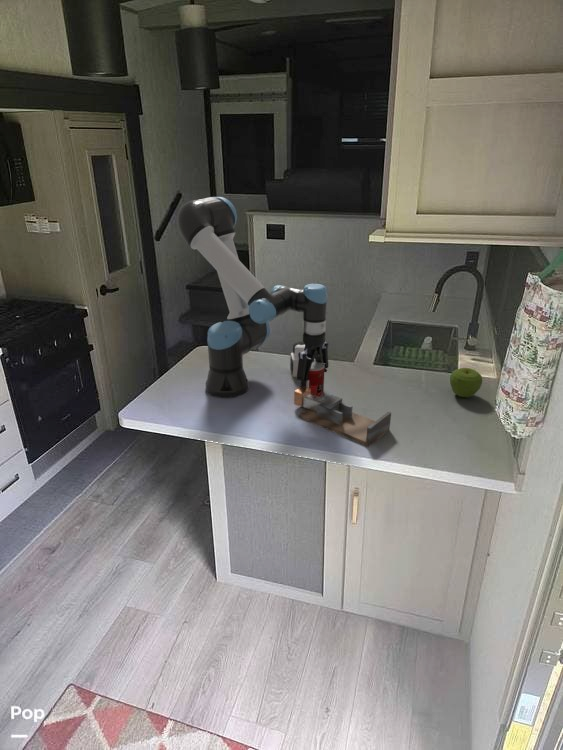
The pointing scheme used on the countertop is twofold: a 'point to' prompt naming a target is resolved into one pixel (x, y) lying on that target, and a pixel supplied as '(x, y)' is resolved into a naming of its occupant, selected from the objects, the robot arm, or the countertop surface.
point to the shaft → (308, 399)
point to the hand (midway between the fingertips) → (312, 392)
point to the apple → (465, 382)
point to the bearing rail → (347, 421)
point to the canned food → (316, 378)
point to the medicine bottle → (296, 357)
